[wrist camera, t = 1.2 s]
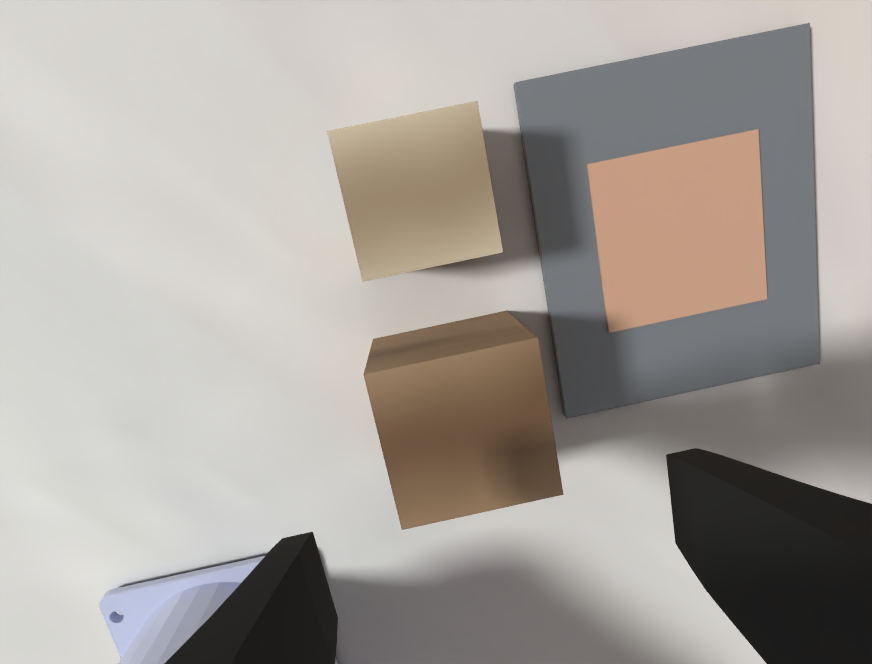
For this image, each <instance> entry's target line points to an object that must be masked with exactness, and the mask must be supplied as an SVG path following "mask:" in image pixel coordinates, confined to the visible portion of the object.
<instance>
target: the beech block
mask: <svg viewBox="0 0 872 664" xmlns="http://www.w3.org/2000/svg"><path fill="white" fill-rule="evenodd" d="M327 132H328V137H329V141H330V145H331V149H332V154H333V158H334V162H335V166H336V171H337V175H338V179H339V183H340V188H341V192H342V196H343V200H344V205H345V209H346V213H347V217H348V222H349V226H350V230H351V234H352V239H353V243H354V247H355V251H356V256H357V260H358V264H359V268H360V273H361V277H362V281H368V280H373V279H378V278H383V277H387V276H392V275H397V274H402V273H406V272H411V271H416V270H421V269H426V268H430V267H435V266H440V265H445V264H450V263H454V262H459V261H464V260H469V259H474V258H478V257H483V256H488V255H493V254H497V253H502V252H503V249H502V243H501V237H500V231H499V226H498V220H497V214H496V208H495V202H494V196H493V190H492V184H491V178H490V172H489V166H488V161H487V155H486V149H485V143H484V137H483V131H482V125H481V119H480V113H479V107H478V101H475V102H470V103H465V104H460V105H455V106H450V107H445V108H440V109H435V110H431V111H426V112H421V113H416V114H411V115H406V116H401V117H396V118H391V119H386V120H381V121H376V122H371V123H366V124H361V125H356V126H351V127H346V128H341V129H336V130H332V131H327Z"/></svg>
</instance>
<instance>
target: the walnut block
mask: <svg viewBox="0 0 872 664" xmlns="http://www.w3.org/2000/svg"><path fill="white" fill-rule="evenodd" d="M364 378H365V382H366V386H367V390H368V394H369V398H370V402H371V406H372V411H373V415H374V419H375V423H376V427H377V431H378V435H379V439H380V443H381V447H382V451H383V455H384V459H385V463H386V467H387V471H388V475H389V479H390V484H391V488H392V492H393V496H394V500H395V504H396V508H397V512H398V516H399V520H400V524H401V528H402V530H404V529H408V528H413V527H417V526H422V525H426V524H431V523H435V522H440V521H445V520H449V519H454V518H458V517H463V516H467V515H472V514H477V513H481V512H486V511H490V510H495V509H499V508H504V507H509V506H513V505H518V504H522V503H527V502H531V501H536V500H540V499H545V498H550V497H554V496H559V495H563V489H562V483H561V477H560V470H559V464H558V458H557V452H556V446H555V440H554V433H553V427H552V421H551V415H550V409H549V402H548V396H547V390H546V384H545V378H544V372H543V365H542V359H541V353H540V347H539V341H538V337H537V336H536V335H535V334H533V333H532V332H531V331H530V330H529V329H528V328H526V327H525V326H524V325H523V324H522V323H521V322H519V321H518V320H517V319H516V318H515V317H513V316H512V315H511V314H510V313H509V312H508V311H503V312H498V313H494V314H489V315H484V316H480V317H475V318H470V319H465V320H461V321H456V322H451V323H447V324H442V325H437V326H432V327H428V328H423V329H418V330H414V331H409V332H404V333H400V334H395V335H390V336H385V337H381V338H376V339H373V342H372V345H371V349H370V353H369V356H368V360H367V364H366V368H365V371H364Z"/></svg>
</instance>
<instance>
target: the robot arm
mask: <svg viewBox="0 0 872 664" xmlns="http://www.w3.org/2000/svg"><path fill="white" fill-rule="evenodd" d="M666 457H667V467H668V476H669V486H670V495H671V505H672V514H673V523H674V533H675V542H676V545H677V546H678V548H679V549H680V551H681V553H682V554H683V556H684V557H685V559H686V561H687V562H688V564H689V565H690V567H691V569H692V570H693V572H694V573H695V575H696V576H697V578H698V579H699V581H700V582H701V583H702V585H703V586H704V588H705V589H706V591H707V592H708V593H709V594H710V596H711V597H712V598H713V599H714V601H715V602H716V603H717V604H718V606H719V607H720V608H721V609H722V610H723V612H724V613H725V614H726V615H727V616H728V618H729V619H730V620H731V621H732V623H733V624H734V625H735V626H736V627H737V629H738V630H739V631H740V632H741V633H742V635H743V636H744V637H745V638H746V639H747V640H748V642H749V643H750V644H751V645H752V646H753V648H754V649H755V650H756V651H757V652H758V654H759V655H760V656H761V657H762V658H763V660H764V661H765V662H766V663H767V664H872V504H870V503H867V502H863V501H860V500H856V499H853V498H850V497H846V496H843V495H839V494H836V493H833V492H830V491H827V490H824V489H820V488H817V487H814V486H811V485H808V484H805V483H802V482H799V481H796V480H793V479H790V478H787V477H784V476H781V475H778V474H775V473H772V472H769V471H766V470H763V469H760V468H758V467H755V466H752V465H749V464H746V463H743V462H740V461H737V460H734V459H731V458H728V457H725V456H722V455H719V454H715V453H712V452H709V451H705V450H701V449H697V448H695V449H690V450H686V451H681V452H677V453H672V454H667V455H666ZM99 606H100V610H101V612H102V615H103V617H104V619H105V622H106V624H107V627H108V629H109V631H110V634H111V636H112V639H113V641H114V643H115V646H116V648H117V651H118V653H119V655H120V658H121V659H120V661H119V662H118V664H338V663H337V659H336V643H337V624H338V617H337V613H336V610H335V607H334V603H333V600H332V596H331V593H330V589H329V586H328V583H327V579H326V576H325V572H324V569H323V565H322V562H321V559H320V555H319V552H318V548H317V545H316V541H315V538H314V535H313V532H309V533H305V534H300V535H296V536H291V537H287V538H282V539H281V540H280V541H279V542H278V543H277V544H276V545H275V546H274V547H273V548H272V549H271V550H270V552H269V553H268V554H267V555H266V556H261V557H257V558H252V559H248V560H243V561H238V562H234V563H229V564H225V565H220V566H216V567H211V568H206V569H202V570H197V571H193V572H188V573H184V574H179V575H174V576H170V577H165V578H161V579H156V580H152V581H147V582H143V583H138V584H133V585H129V586H124V587H120V588H115V589H112V590H109V591H108V592H107V593H106V594H105V595H104V596H103V597H102V599H101V600H100V603H99ZM116 611H117V612H120V613H122V615H119V614H117V612H116Z"/></svg>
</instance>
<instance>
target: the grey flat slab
mask: <svg viewBox="0 0 872 664" xmlns="http://www.w3.org/2000/svg"><path fill="white" fill-rule="evenodd" d="M514 91H515V97H516V104H517V110H518V117H519V123H520V130H521V136H522V143H523V149H524V156H525V162H526V169H527V175H528V182H529V189H530V195H531V202H532V208H533V215H534V221H535V228H536V234H537V241H538V247H539V254H540V260H541V267H542V273H543V280H544V286H545V293H546V299H547V306H548V313H549V319H550V326H551V332H552V339H553V345H554V352H555V358H556V365H557V371H558V378H559V384H560V391H561V397H562V404H563V410H564V416H565V417H566V418H570V417H575V416H579V415H584V414H589V413H593V412H598V411H603V410H607V409H612V408H616V407H621V406H626V405H630V404H635V403H640V402H644V401H649V400H653V399H658V398H663V397H667V396H672V395H677V394H681V393H686V392H691V391H695V390H700V389H704V388H709V387H714V386H718V385H723V384H728V383H732V382H737V381H741V380H746V379H751V378H755V377H760V376H765V375H769V374H774V373H778V372H783V371H788V370H792V369H797V368H802V367H806V366H811V365H815V364H820V358H819V324H818V290H817V255H816V221H815V187H814V153H813V119H812V84H811V50H810V23H807V24H802V25H797V26H792V27H787V28H783V29H778V30H773V31H768V32H763V33H758V34H753V35H748V36H743V37H738V38H733V39H728V40H723V41H718V42H713V43H708V44H703V45H698V46H693V47H688V48H684V49H679V50H674V51H669V52H664V53H659V54H654V55H649V56H644V57H639V58H634V59H629V60H624V61H619V62H614V63H609V64H604V65H599V66H594V67H589V68H585V69H580V70H575V71H570V72H565V73H560V74H555V75H550V76H545V77H540V78H535V79H530V80H525V81H520V82H516V83H515V84H514Z"/></svg>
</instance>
